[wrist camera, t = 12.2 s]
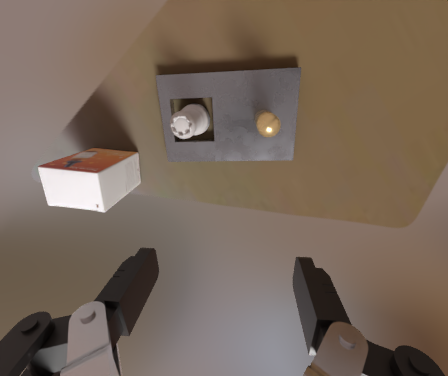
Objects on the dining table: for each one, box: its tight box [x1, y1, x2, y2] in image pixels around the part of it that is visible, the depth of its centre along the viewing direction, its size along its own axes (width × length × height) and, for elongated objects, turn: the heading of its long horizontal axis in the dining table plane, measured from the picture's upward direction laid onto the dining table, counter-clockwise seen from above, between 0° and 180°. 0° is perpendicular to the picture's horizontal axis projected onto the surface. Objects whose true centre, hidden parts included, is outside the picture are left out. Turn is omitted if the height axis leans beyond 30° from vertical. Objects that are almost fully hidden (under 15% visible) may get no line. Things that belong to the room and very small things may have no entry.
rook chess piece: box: [170, 103, 210, 139], centre depth 29 cm, size 4×4×8 cm
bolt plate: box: [156, 67, 301, 162], centre depth 27 cm, size 19×12×10 cm, turn 92°
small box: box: [38, 148, 141, 212], centre depth 32 cm, size 8×6×10 cm
